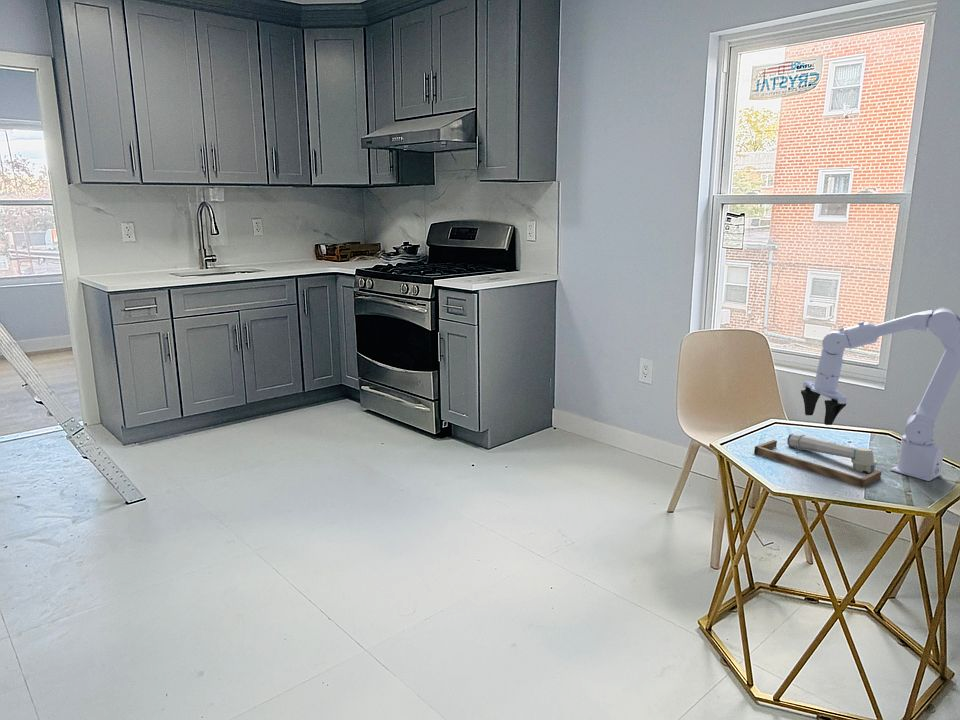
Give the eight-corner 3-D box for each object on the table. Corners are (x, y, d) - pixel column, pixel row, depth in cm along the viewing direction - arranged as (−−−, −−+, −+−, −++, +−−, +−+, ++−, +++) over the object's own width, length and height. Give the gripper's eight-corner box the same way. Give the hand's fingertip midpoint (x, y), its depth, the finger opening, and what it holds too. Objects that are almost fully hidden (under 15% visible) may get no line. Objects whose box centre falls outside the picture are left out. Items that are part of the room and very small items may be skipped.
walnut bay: (880, 478, 180) (881, 471, 179) (862, 487, 174) (863, 480, 173) (773, 446, 203) (773, 439, 202) (754, 453, 197) (754, 446, 196)
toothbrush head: (796, 431, 205) (881, 446, 183) (797, 453, 205) (881, 470, 184) (785, 434, 202) (870, 449, 181) (785, 456, 203) (870, 474, 181)
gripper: (798, 366, 197) (789, 411, 201) (835, 381, 184) (825, 429, 187) (818, 366, 199) (809, 410, 203) (857, 381, 186) (846, 428, 189)
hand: (818, 419), depth 195 cm, fingers open, 7 cm apart
